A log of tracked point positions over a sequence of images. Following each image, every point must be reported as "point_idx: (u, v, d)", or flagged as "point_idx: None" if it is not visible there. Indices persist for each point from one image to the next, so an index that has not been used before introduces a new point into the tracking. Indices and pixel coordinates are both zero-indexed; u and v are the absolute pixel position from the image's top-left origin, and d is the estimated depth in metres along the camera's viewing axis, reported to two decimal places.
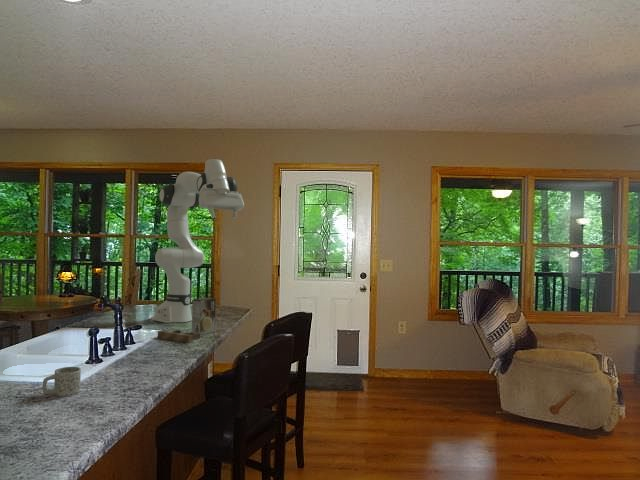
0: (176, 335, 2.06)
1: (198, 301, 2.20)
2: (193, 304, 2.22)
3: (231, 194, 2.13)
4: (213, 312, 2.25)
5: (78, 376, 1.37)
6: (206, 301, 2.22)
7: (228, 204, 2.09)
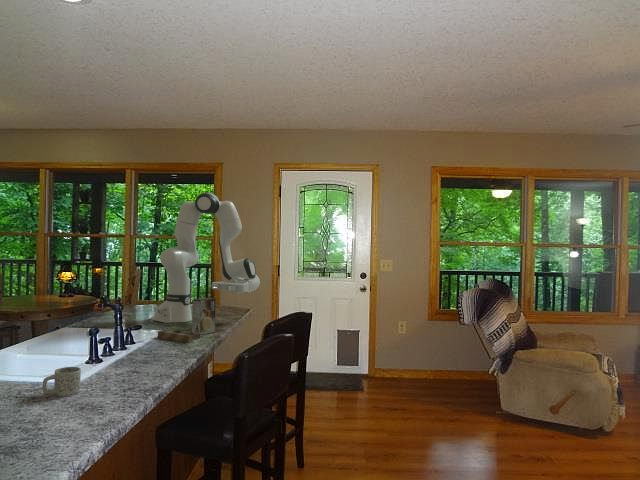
0: (176, 335, 2.06)
1: (198, 301, 2.20)
2: (193, 304, 2.22)
3: None
4: (213, 312, 2.25)
5: (78, 376, 1.37)
6: (206, 301, 2.22)
7: None
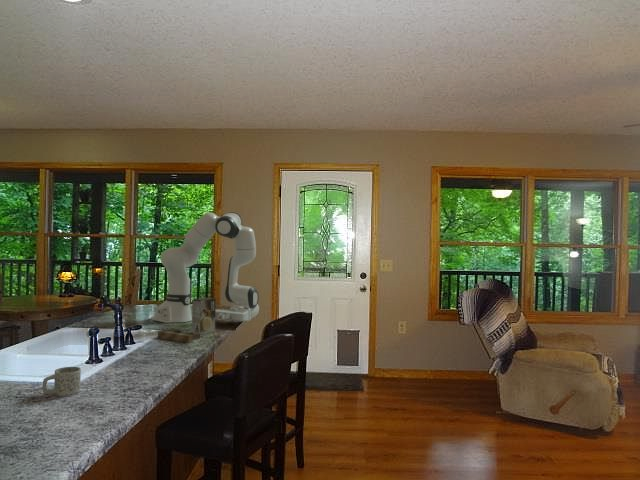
0: (176, 335, 2.06)
1: (198, 301, 2.20)
2: (193, 304, 2.22)
3: None
4: (213, 312, 2.25)
5: (78, 376, 1.37)
6: (206, 301, 2.22)
7: None
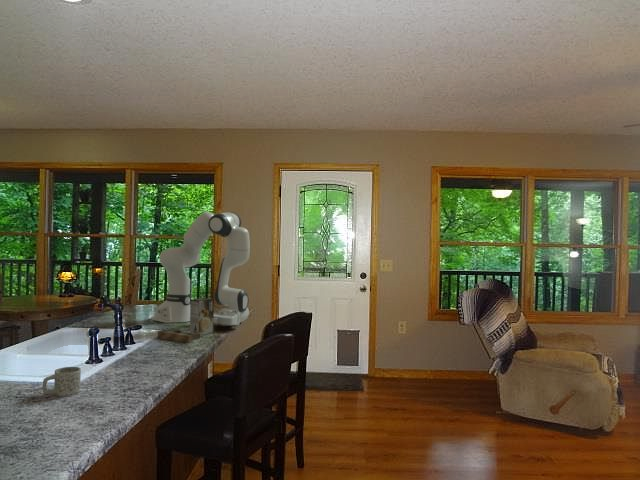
0: (176, 335, 2.06)
1: (196, 301, 2.18)
2: (191, 304, 2.20)
3: None
4: (211, 312, 2.24)
5: (78, 376, 1.37)
6: (204, 301, 2.20)
7: None
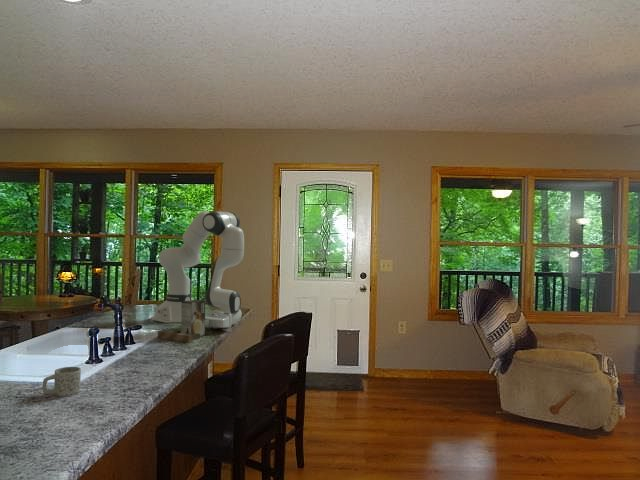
0: (176, 335, 2.06)
1: (189, 303, 2.12)
2: (183, 306, 2.14)
3: None
4: (203, 314, 2.18)
5: (78, 376, 1.37)
6: (197, 303, 2.14)
7: None
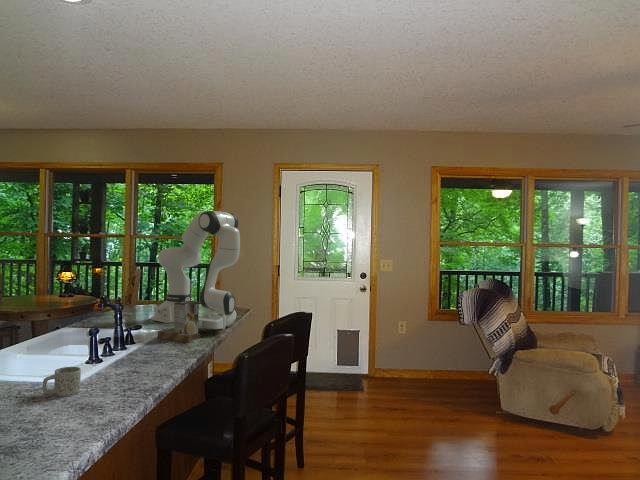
0: (176, 335, 2.06)
1: (182, 305, 2.08)
2: (175, 308, 2.09)
3: None
4: (196, 316, 2.14)
5: (78, 376, 1.37)
6: (190, 304, 2.10)
7: None
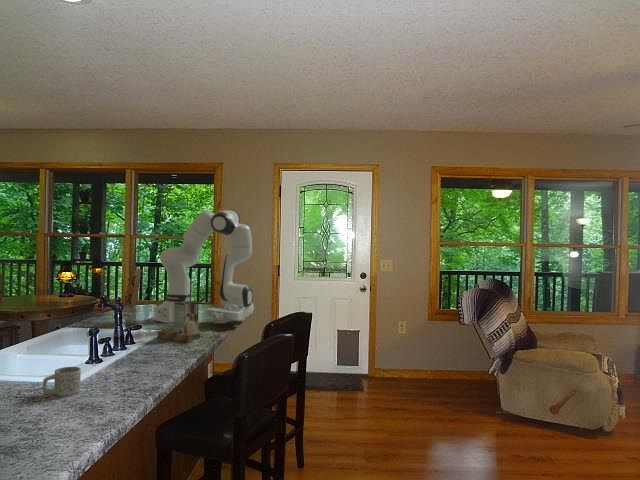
0: (176, 335, 2.06)
1: (182, 305, 2.08)
2: (175, 308, 2.09)
3: None
4: (196, 316, 2.14)
5: (78, 376, 1.37)
6: (190, 304, 2.10)
7: None
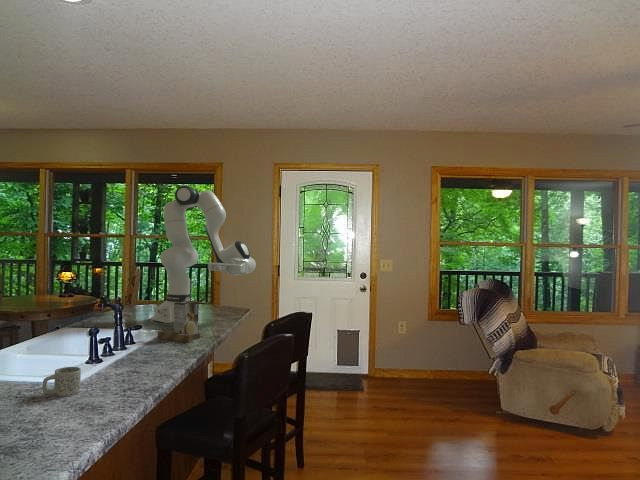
0: (176, 335, 2.06)
1: (182, 305, 2.08)
2: (175, 308, 2.09)
3: None
4: (196, 316, 2.14)
5: (78, 376, 1.37)
6: (190, 304, 2.10)
7: (220, 270, 2.40)
